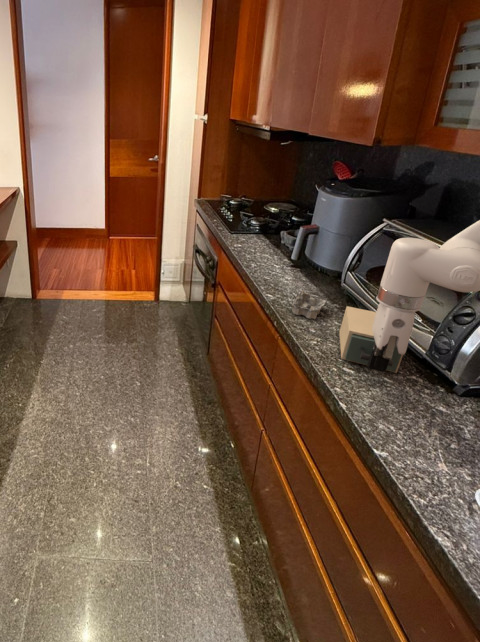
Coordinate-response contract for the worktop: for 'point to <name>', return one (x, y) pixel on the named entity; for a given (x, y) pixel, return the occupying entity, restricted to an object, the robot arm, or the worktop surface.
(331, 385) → the worktop surface
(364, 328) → the wooden drawer box
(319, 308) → the egg carton
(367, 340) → the green-fronted drawer
